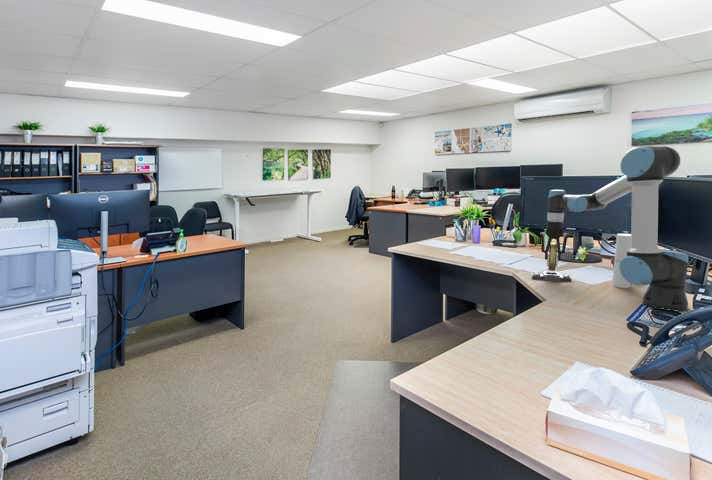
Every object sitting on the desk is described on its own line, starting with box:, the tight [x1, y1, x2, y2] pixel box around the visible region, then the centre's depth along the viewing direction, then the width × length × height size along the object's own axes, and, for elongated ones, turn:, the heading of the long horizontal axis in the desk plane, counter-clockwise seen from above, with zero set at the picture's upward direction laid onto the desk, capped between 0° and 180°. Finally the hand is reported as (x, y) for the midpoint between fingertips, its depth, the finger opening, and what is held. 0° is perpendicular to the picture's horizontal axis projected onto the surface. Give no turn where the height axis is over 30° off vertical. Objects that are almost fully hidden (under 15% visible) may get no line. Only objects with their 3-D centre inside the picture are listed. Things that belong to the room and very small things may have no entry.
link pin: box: [547, 242, 558, 272], centre depth 211 cm, size 4×4×14 cm
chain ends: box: [531, 270, 572, 283], centre depth 213 cm, size 18×7×3 cm, turn 70°
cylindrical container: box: [611, 233, 631, 289], centre depth 197 cm, size 7×7×25 cm
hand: (551, 266), depth 212 cm, fingers closed on link pin, 3 cm apart
